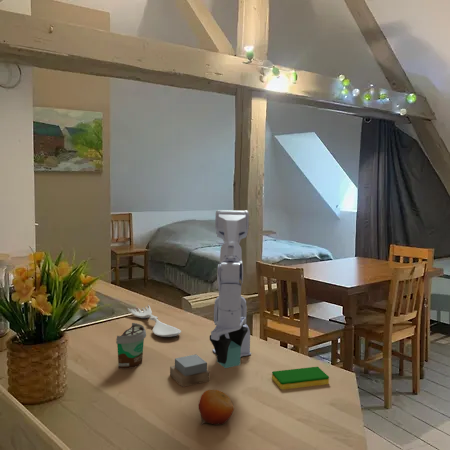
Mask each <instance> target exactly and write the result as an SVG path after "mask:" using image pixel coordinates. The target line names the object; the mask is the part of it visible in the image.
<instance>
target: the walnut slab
mask: <svg viewBox="0 0 450 450" xmlns="http://www.w3.org/2000/svg"><path fill="white" fill-rule="evenodd" d="M169 375H170V377H171V378H173V380H174V381H176V383H177V384H178V385H180V387H182V388H183V387H184V388H185V387H187V386H188V387H189V386H193V385H197V384H202V383H205V382H209V381H210V371H209V370H208V369H207V372H202V373H198V374H194V375H189V376H184V375H183V374H182V373H181V372H180V371H178V370H177V369H176V368H175V365H170V366H169Z"/></svg>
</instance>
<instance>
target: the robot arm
mask: <svg viewBox="0 0 450 450" xmlns="http://www.w3.org/2000/svg"><path fill="white" fill-rule="evenodd" d="M249 214H250V213H249V211H248V209H245V210H235V209H234V210H229V209H228V210H227V209H226V210H225V209H224V210H223V209H221V210H220V209H217V210H216V211H215V221H214V223H215V225H214V226H215V227H214V228H215V234H216V235H217V237H218V238H220V239H222V241H223V244H222V245H221V246H220V250H219V251H220V252H219V253H220V255H219V264H217V271H216V273H217V277H216V278H217V279H216V280H217V285H218V287H217V289H218V290H217V291H218V296H217V297H216V298H215V300H214V307H213V323H214V329H213V330H211V331H210V335H209V341H210V343H211V345H213V349H212V350H211V351H212V352H213V353H215V354H216V355H215V356H216V361H217V360H218V362H219V363H223V364H225V363H226V361H227V354H228V348H229V345H230V342H231V341H233V342H235V343H236V344H238V345H239V346H241V358H242V357H246V356H250V355H252V352H251V330H250V327H249V326H248V324H247V315H248V314H247V300H246V298H245V297H243V296H242V285H243V282H244V265H243V263H244V262H243V259H242V257H243V255H242V254H243V253H242V250H243V249H242V247H241V245H240V244H241V241H242V239H245V238H247V235H248V232H249V225H250V222H249V221H250V220H249V219H250V215H249ZM240 281H241V283H240ZM218 362H217V363H218ZM219 363H218V364H219Z"/></svg>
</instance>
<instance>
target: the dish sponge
mask: <svg viewBox="0 0 450 450" xmlns="http://www.w3.org/2000/svg"><path fill="white" fill-rule="evenodd" d="M271 380H272V381H273V382H274V383H275V384H276V385H277V387H278V388H279V389H280V390H289V389H298V388H306V387H307V388H308V387H315V386H323V385H324V386H325V385H329V383H330V377H329V375H327V373H326V372H324V370H322V369H321V368H320V367H319V366H311V367H301V368H293V369H292V368H291V369H283V370H274V371H272V373H271Z"/></svg>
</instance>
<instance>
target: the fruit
mask: <svg viewBox="0 0 450 450" xmlns="http://www.w3.org/2000/svg"><path fill="white" fill-rule="evenodd" d="M198 410H199V413H200V418H201V421H202V422H201V423H200V426H203V424H204V423H208V424H210V425H214V426H215V425H224V424H225V423H227V421H229V419H230V418H231V416H232V414H233V412H234V410H235V408H234V404H233V402H232V400H231V398H230V397H229V396H228V395H227V393H225V392H224V391H220V390H218V389H207V390H205V391H204V392H203V393H202V394H201V396H200V399H199V401H198Z"/></svg>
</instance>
